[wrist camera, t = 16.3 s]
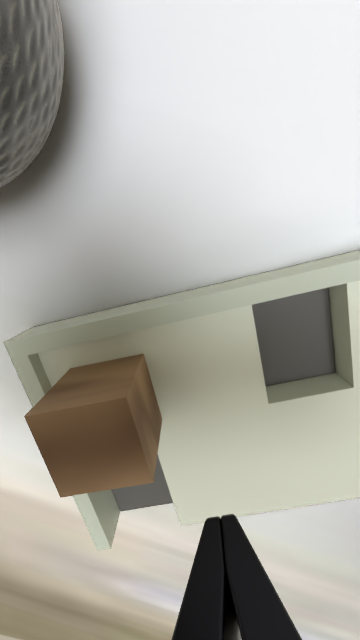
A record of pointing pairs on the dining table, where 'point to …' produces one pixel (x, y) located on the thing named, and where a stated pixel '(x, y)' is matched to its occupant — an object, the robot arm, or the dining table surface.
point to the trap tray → (228, 390)
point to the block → (99, 427)
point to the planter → (28, 80)
